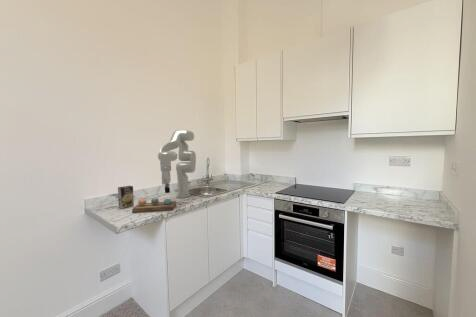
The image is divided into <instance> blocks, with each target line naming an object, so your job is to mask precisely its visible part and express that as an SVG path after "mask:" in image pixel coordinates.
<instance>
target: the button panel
mask: <svg viewBox="0 0 476 317" xmlns="http://www.w3.org/2000/svg"><path fill="white" fill-rule="evenodd" d="M176 202H177V201H176V200H175V201H173V200H171V204H169V205H164V201H162V202H161V201H160V202H159V203H157V204H151V202H146V204H143V205H139V203H137V204H136V205H134V206H133V208H132V209H131V212H132V214H140V213H141V214H142V213H143V214H144V213H154V212H169V211H172V212H173V211H174V209H175V208H176V206H177V203H176Z"/></svg>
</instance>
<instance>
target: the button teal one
mask: <svg viewBox="0 0 476 317" xmlns="http://www.w3.org/2000/svg"><path fill="white" fill-rule="evenodd" d="M163 202H164V205H169V204H171V202H172V199H171V198H166V199H164V200H163Z"/></svg>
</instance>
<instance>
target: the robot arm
mask: <svg viewBox="0 0 476 317" xmlns="http://www.w3.org/2000/svg"><path fill="white" fill-rule="evenodd" d="M194 140H195V135H194V132H193V131H192V130H187V129H186V130H185V129H184V130H179V129H178V130H175V131H173V133H172V135H171V137H170V140H169V141H168V142H167V143H165V144H163V145H162V146H161V147H160V149H159V151H158V155H157V159H158V160H159V161H160V172H161V185H164V193H165V194H169V193H170V192H171V189H170V183H171V182H172V180H171V171H172V164H171V162H174V161H176V160H177V159H178V161H181V162H178V163H176V165H175V171H176V175H177V194H176V198H178V199H185V198H189V197H191V193H189V176H188V175H187V174H189V173H190V174H191V173H195V171H196V165H197V164H196V163H197V155H196V154H197V153H196V152H195V151H194V150H189V145H188V144H187V141H188V142H191V141H194ZM177 148H178V153H177V152H176V151H174V150H176V149H177Z"/></svg>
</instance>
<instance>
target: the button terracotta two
mask: <svg viewBox="0 0 476 317" xmlns="http://www.w3.org/2000/svg"><path fill="white" fill-rule="evenodd" d="M146 203H147V200H146V198H140V199H138V204H139V205H143V204H146Z"/></svg>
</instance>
